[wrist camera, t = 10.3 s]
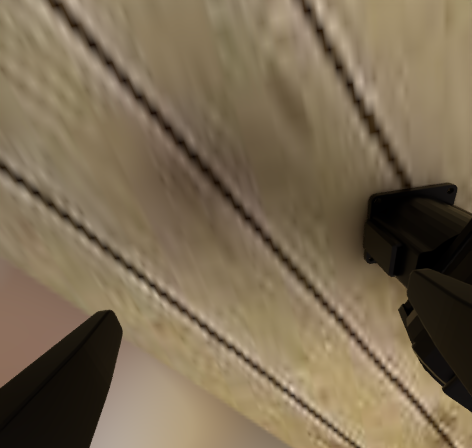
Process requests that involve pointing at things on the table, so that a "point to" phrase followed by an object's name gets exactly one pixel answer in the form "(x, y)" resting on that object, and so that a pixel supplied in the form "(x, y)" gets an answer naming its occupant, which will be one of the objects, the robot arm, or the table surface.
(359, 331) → the table surface
